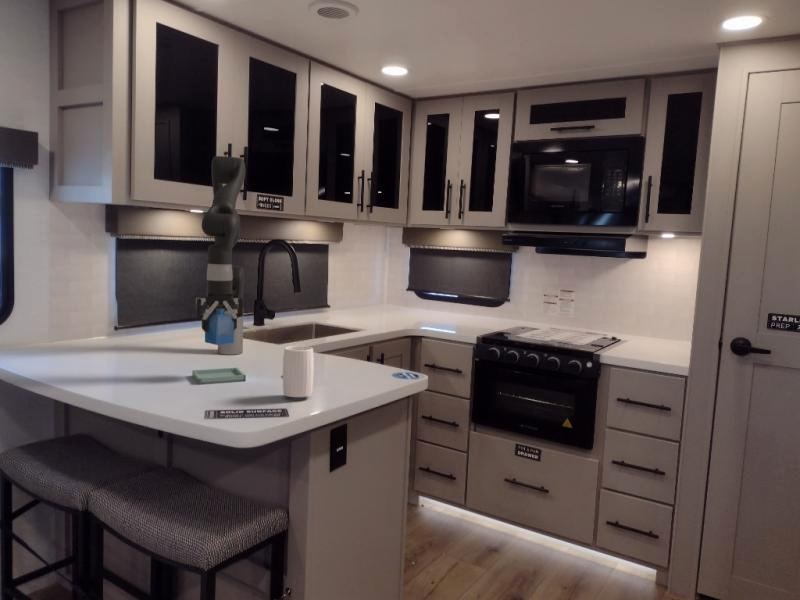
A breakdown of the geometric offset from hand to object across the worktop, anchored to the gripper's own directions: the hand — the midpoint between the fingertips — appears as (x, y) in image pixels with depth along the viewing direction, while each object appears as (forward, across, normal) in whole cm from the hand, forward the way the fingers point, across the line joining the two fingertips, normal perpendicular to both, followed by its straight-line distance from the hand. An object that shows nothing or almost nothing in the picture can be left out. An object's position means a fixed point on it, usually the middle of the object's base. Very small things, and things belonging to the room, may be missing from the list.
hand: (219, 331), depth 186 cm
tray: (+15, 0, 0) cm, 15 cm away
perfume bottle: (+4, 0, 0) cm, 4 cm away
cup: (+15, -16, +30) cm, 37 cm away
